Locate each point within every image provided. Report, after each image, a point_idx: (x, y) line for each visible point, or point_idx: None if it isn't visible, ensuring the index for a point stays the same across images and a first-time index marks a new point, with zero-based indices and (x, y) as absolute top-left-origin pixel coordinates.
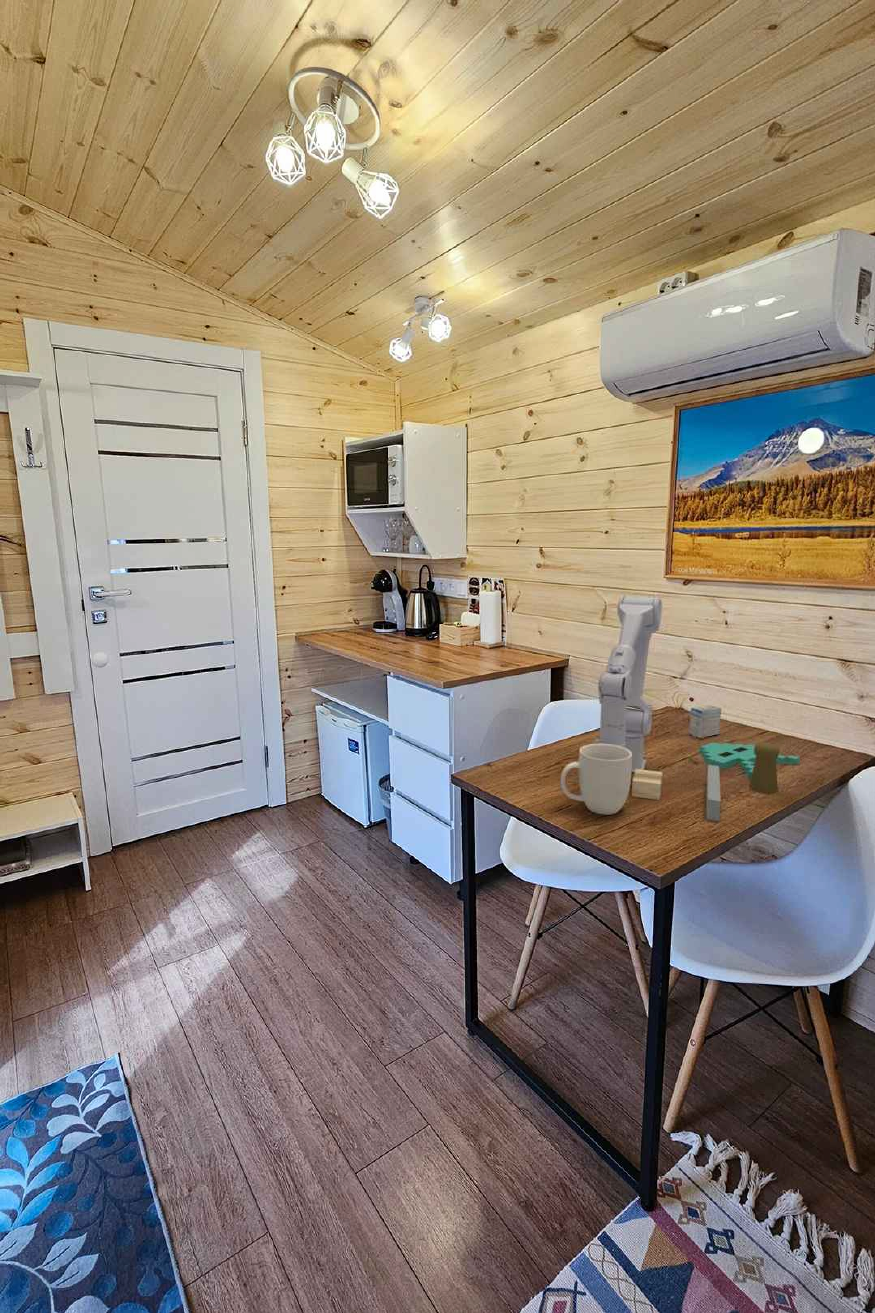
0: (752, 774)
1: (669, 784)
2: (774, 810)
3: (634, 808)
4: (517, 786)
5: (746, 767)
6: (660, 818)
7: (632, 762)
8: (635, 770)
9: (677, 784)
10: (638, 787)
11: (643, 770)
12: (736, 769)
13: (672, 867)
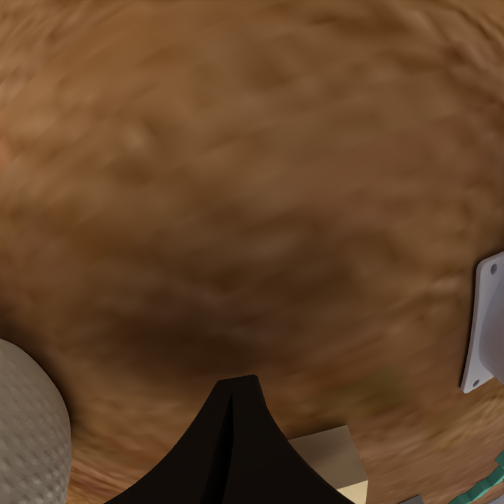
0: None
1: (384, 474)
2: None
3: (105, 461)
4: (13, 13)
5: (480, 492)
6: (111, 497)
7: (499, 375)
8: (342, 488)
9: (391, 481)
10: None
11: (358, 497)
12: (494, 467)
13: None
